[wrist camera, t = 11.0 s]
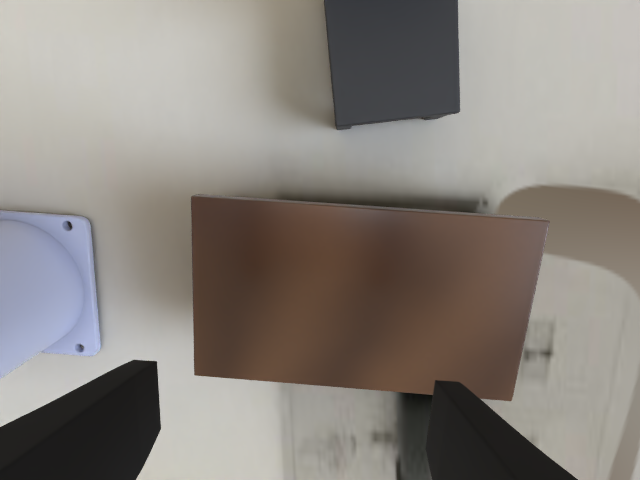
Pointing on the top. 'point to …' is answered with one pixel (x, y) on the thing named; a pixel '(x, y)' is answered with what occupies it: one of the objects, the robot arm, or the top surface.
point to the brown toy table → (361, 294)
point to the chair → (393, 59)
